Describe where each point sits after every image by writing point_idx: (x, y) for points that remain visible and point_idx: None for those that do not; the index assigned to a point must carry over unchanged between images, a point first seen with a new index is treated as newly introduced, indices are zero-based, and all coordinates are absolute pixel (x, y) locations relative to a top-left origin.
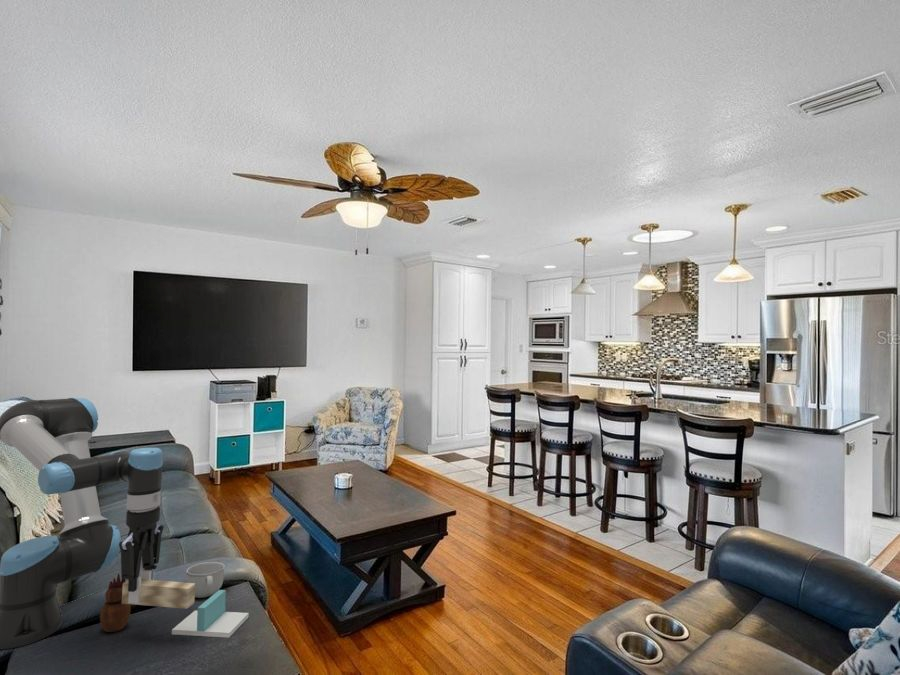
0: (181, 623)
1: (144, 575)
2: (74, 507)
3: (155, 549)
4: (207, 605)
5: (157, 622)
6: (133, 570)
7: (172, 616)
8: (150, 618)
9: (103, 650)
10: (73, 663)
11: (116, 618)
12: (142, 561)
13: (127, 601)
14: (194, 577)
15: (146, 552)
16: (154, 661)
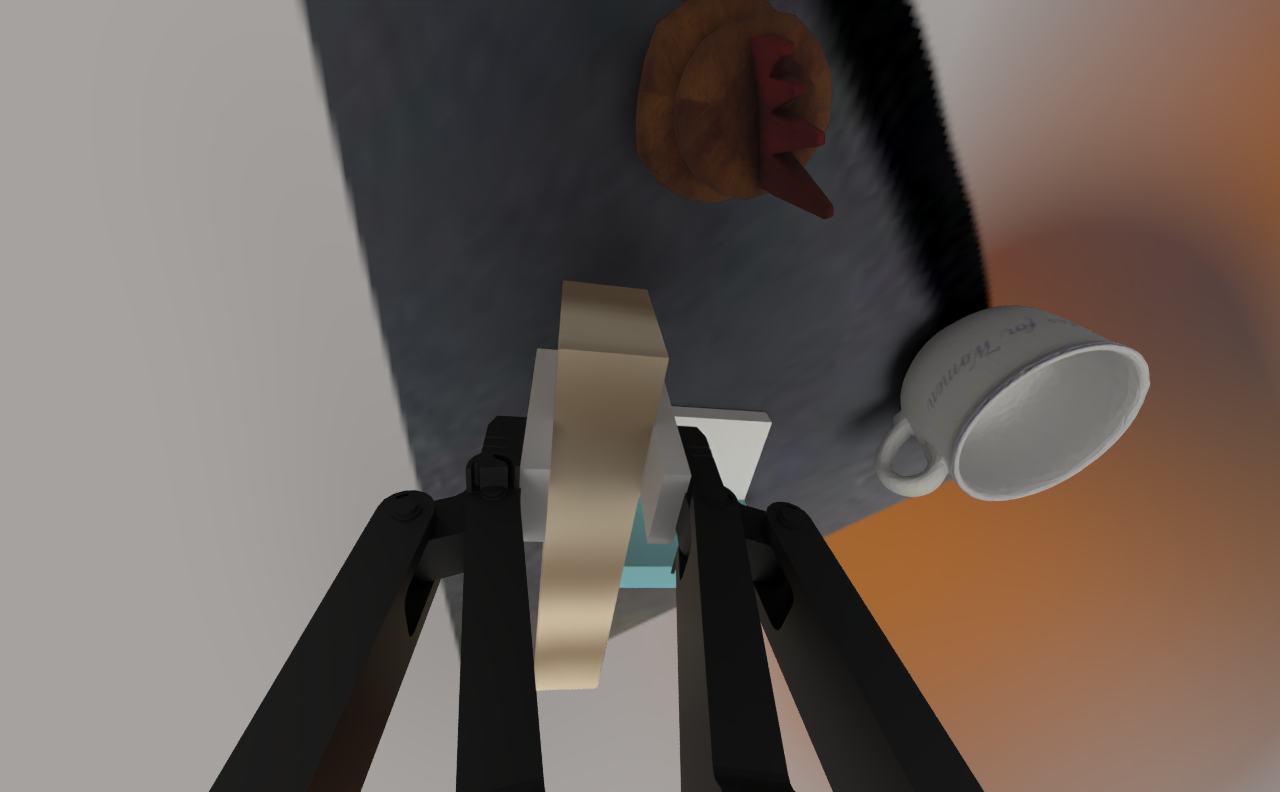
0: None
1: (649, 482)
2: None
3: (802, 693)
4: (633, 586)
5: (726, 295)
6: (414, 630)
7: (769, 332)
8: (771, 240)
9: (488, 180)
10: (358, 90)
11: (641, 159)
12: (694, 550)
13: (559, 329)
14: (961, 415)
15: (691, 696)
16: (443, 436)
